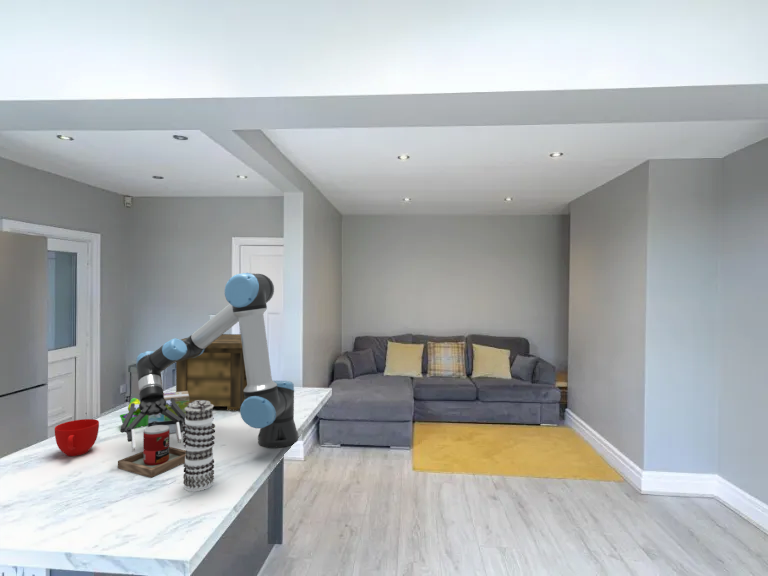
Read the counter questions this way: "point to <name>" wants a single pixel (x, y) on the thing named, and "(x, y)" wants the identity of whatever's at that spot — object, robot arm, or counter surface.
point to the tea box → (160, 419)
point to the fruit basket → (135, 414)
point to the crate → (215, 373)
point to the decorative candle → (198, 446)
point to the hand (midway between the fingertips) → (157, 445)
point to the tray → (139, 467)
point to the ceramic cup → (76, 436)
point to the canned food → (156, 444)
